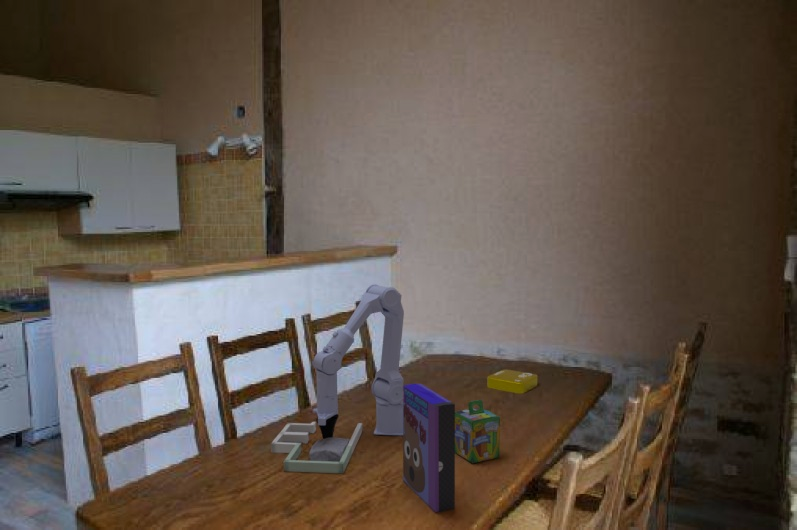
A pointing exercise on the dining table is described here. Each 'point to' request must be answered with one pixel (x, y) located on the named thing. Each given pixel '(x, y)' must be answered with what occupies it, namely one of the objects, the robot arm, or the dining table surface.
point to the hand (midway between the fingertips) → (327, 441)
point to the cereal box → (429, 446)
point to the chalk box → (477, 433)
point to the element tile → (512, 381)
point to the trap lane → (299, 434)
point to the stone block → (328, 449)
